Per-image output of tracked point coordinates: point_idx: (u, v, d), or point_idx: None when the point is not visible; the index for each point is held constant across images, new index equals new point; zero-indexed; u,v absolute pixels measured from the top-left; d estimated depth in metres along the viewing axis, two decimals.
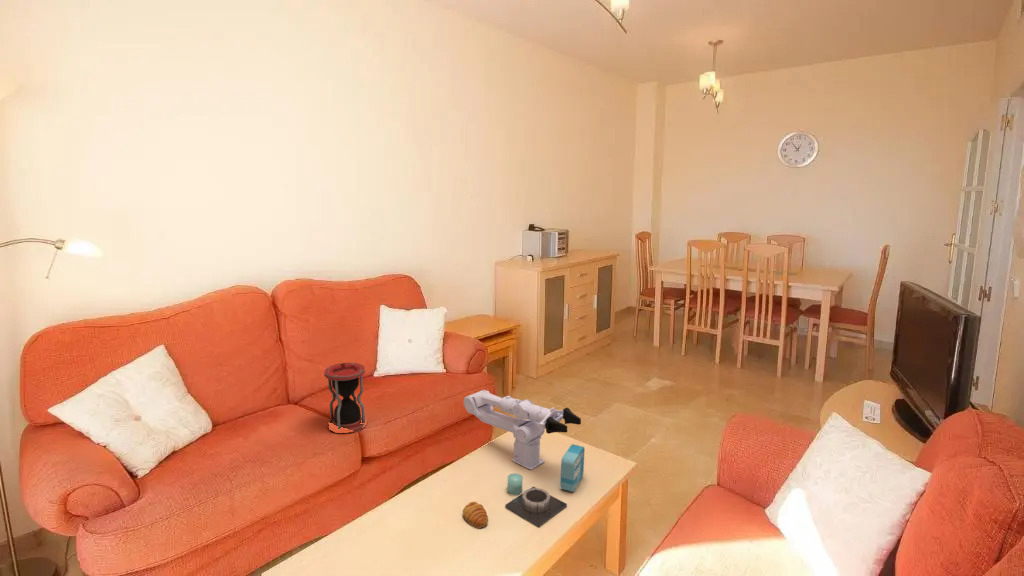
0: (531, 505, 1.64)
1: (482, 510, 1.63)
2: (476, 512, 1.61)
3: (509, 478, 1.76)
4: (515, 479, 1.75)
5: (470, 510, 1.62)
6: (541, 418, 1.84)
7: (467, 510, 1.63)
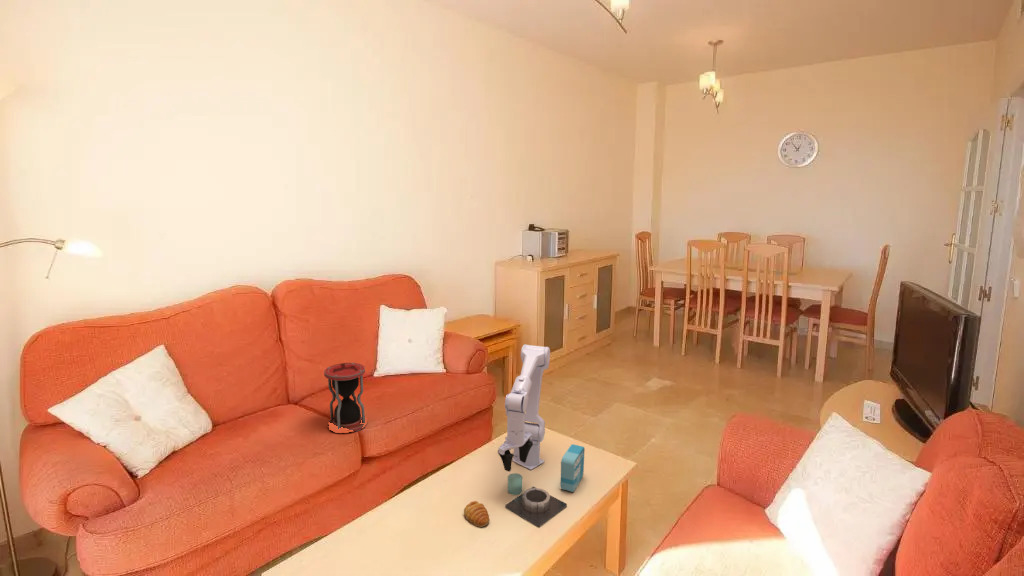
0: (531, 505, 1.64)
1: (483, 509, 1.63)
2: (477, 511, 1.62)
3: (509, 478, 1.76)
4: (515, 479, 1.75)
5: (471, 509, 1.62)
6: None
7: (468, 509, 1.63)
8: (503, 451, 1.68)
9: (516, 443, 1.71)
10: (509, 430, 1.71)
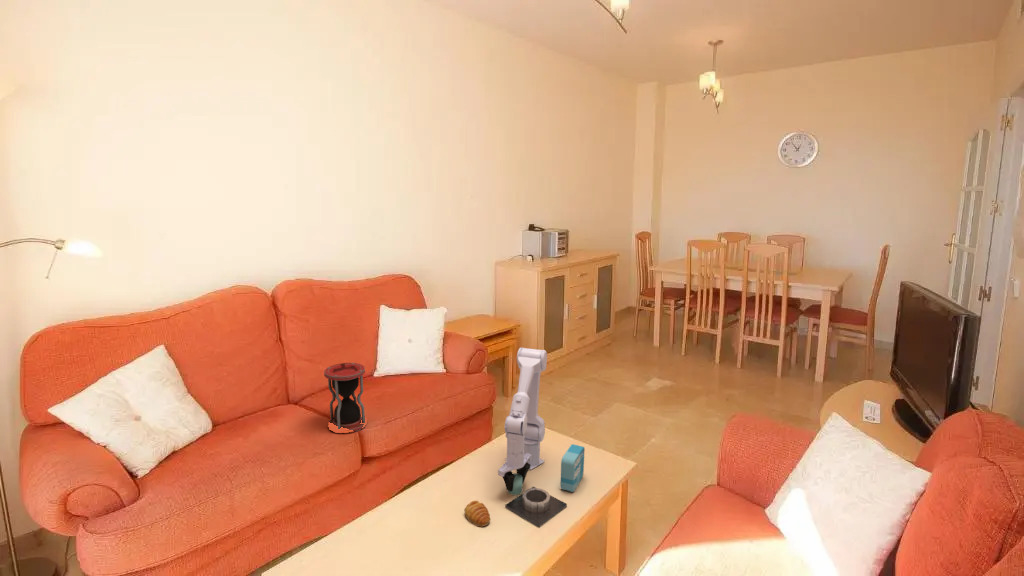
0: (531, 505, 1.64)
1: (484, 509, 1.63)
2: (478, 511, 1.62)
3: None
4: (515, 479, 1.75)
5: (472, 509, 1.63)
6: None
7: (469, 509, 1.63)
8: (503, 473, 1.70)
9: (516, 465, 1.73)
10: (509, 452, 1.73)
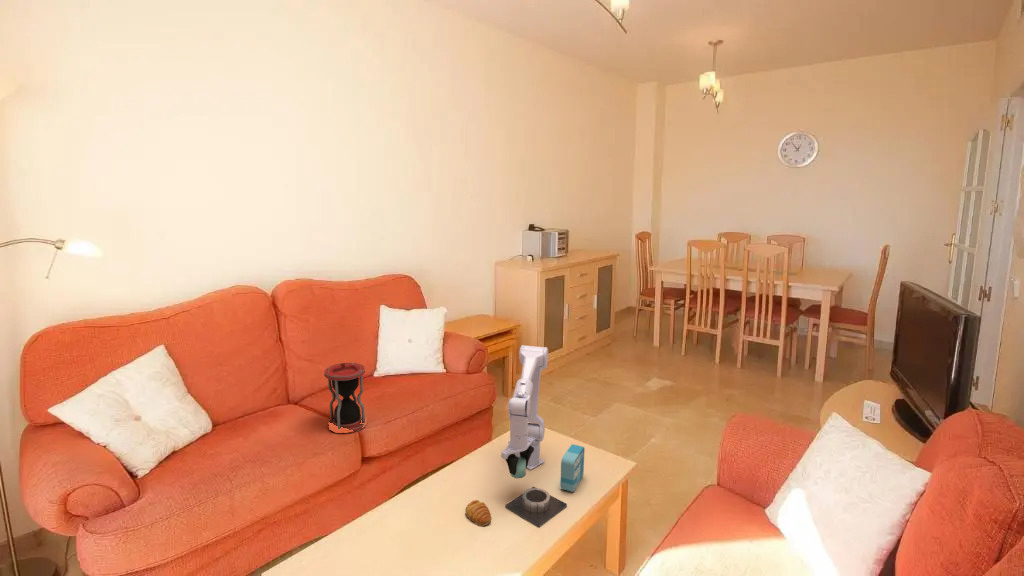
0: (531, 505, 1.64)
1: (485, 508, 1.64)
2: (479, 510, 1.62)
3: None
4: (518, 462, 1.72)
5: (473, 508, 1.63)
6: None
7: (470, 509, 1.63)
8: (506, 455, 1.67)
9: (519, 447, 1.70)
10: (512, 434, 1.70)
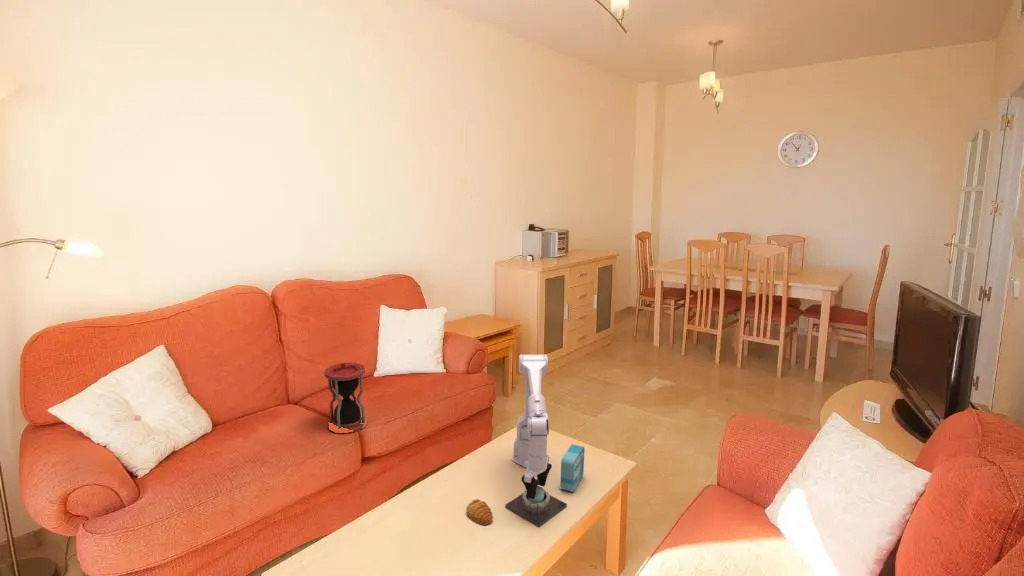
0: (531, 505, 1.64)
1: (486, 507, 1.64)
2: (480, 509, 1.62)
3: None
4: (537, 492, 1.66)
5: (474, 508, 1.63)
6: None
7: (471, 508, 1.64)
8: (530, 479, 1.60)
9: (540, 468, 1.63)
10: (532, 456, 1.63)
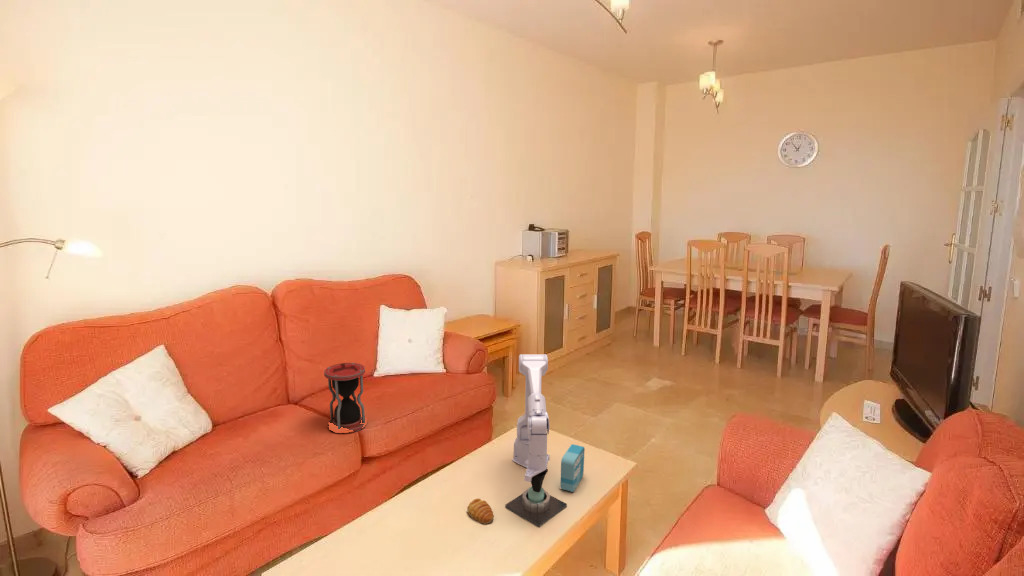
0: (531, 505, 1.64)
1: (487, 506, 1.64)
2: (481, 508, 1.63)
3: (531, 492, 1.67)
4: (537, 492, 1.66)
5: (475, 507, 1.64)
6: None
7: (472, 507, 1.64)
8: (530, 478, 1.60)
9: (540, 467, 1.63)
10: (533, 455, 1.63)
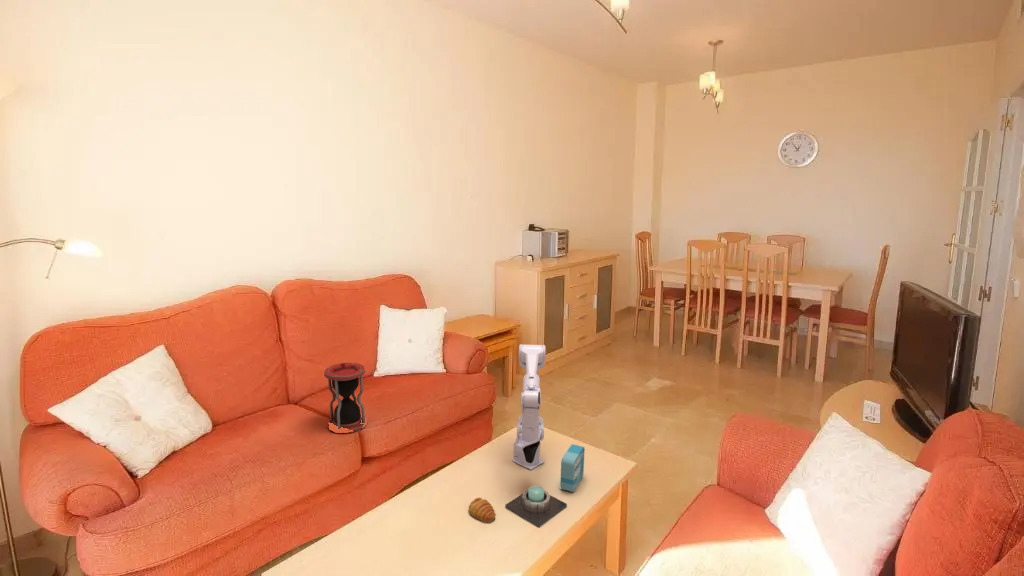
0: (531, 505, 1.64)
1: (488, 505, 1.65)
2: (483, 507, 1.63)
3: (531, 492, 1.67)
4: (537, 492, 1.66)
5: (477, 506, 1.64)
6: None
7: (473, 506, 1.65)
8: (521, 448, 1.70)
9: (532, 439, 1.73)
10: (525, 427, 1.73)
